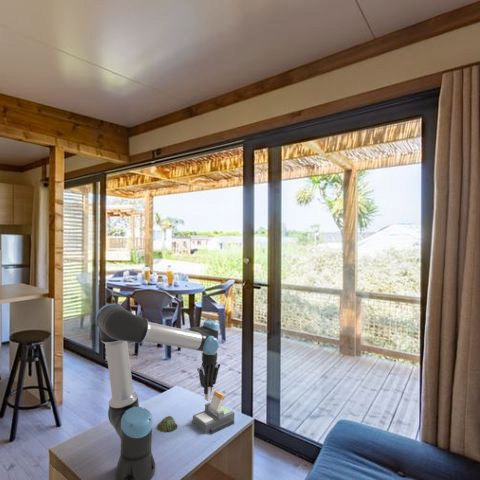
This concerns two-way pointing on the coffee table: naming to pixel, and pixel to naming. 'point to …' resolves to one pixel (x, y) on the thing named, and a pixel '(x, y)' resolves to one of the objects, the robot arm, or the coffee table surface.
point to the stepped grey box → (211, 418)
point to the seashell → (167, 425)
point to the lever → (216, 402)
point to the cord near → (221, 426)
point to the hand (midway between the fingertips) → (207, 399)
